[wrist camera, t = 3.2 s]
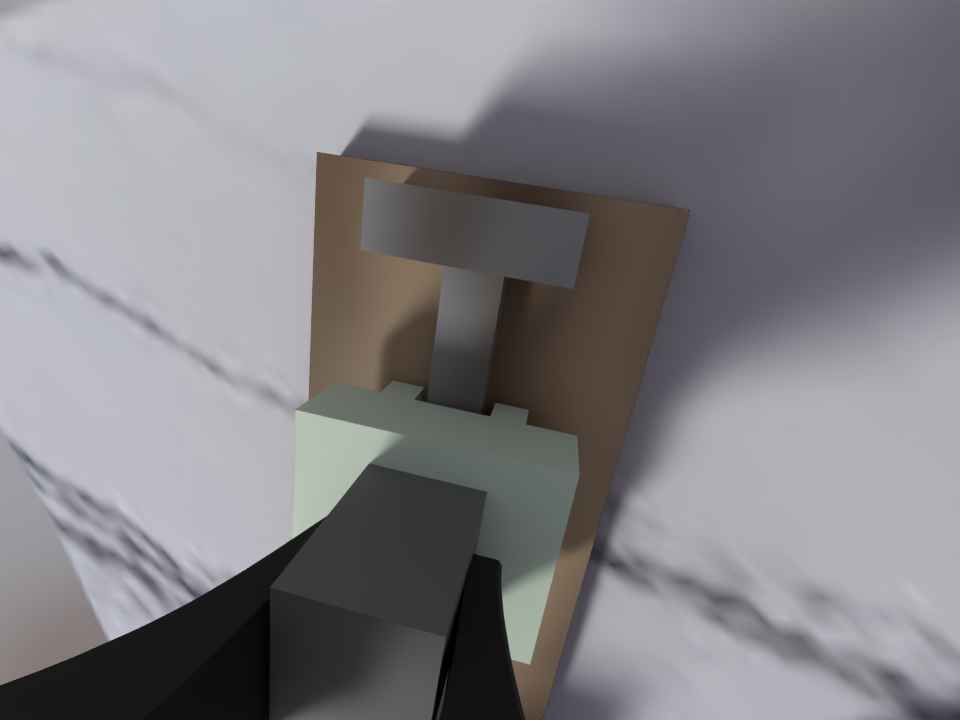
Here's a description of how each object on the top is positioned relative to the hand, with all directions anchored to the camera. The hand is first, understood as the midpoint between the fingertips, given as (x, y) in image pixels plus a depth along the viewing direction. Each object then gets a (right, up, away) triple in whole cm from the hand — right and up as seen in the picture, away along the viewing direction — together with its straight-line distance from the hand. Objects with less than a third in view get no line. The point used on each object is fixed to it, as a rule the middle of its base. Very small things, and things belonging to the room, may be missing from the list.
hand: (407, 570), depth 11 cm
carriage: (+1, +1, +4) cm, 4 cm away
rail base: (0, -3, +7) cm, 8 cm away
